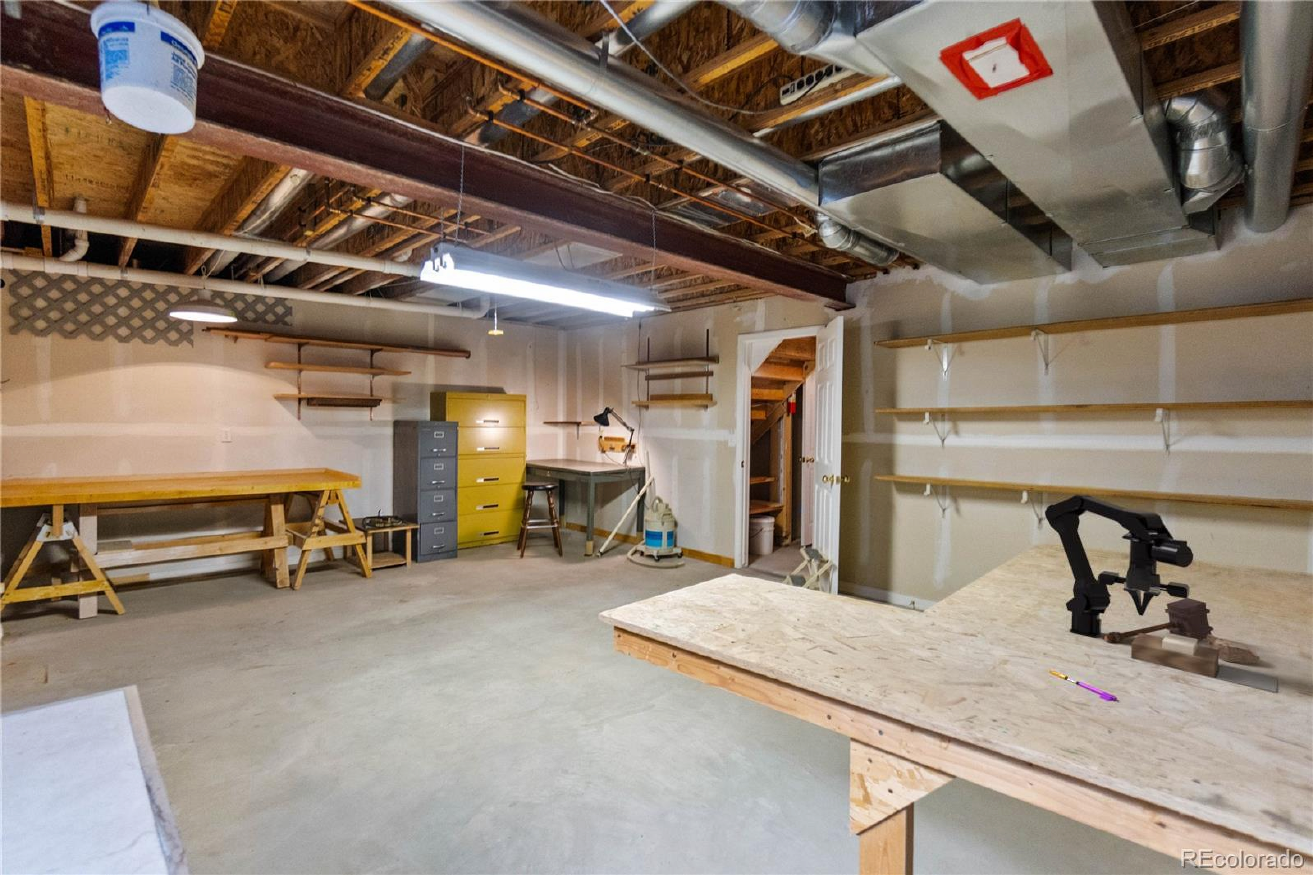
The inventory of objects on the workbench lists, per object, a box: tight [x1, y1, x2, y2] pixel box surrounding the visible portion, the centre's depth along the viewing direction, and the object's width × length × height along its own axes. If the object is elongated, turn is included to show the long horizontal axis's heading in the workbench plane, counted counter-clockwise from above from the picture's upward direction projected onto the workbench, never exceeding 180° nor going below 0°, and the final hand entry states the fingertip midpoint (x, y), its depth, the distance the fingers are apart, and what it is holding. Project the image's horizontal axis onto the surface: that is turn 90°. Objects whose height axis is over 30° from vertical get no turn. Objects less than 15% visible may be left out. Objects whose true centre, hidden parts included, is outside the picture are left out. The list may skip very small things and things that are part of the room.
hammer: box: [1103, 597, 1214, 643], centre depth 169 cm, size 7×33×10 cm, turn 99°
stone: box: [1206, 634, 1260, 665], centre depth 156 cm, size 9×11×5 cm
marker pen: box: [1047, 669, 1118, 702], centre depth 137 cm, size 3×1×16 cm
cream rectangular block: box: [1162, 632, 1199, 655], centre depth 152 cm, size 6×9×2 cm, turn 132°
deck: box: [1130, 633, 1220, 679], centre depth 153 cm, size 16×12×4 cm
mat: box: [1216, 664, 1278, 694], centre depth 143 cm, size 10×12×1 cm
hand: (1140, 615), depth 158 cm, fingers closed
